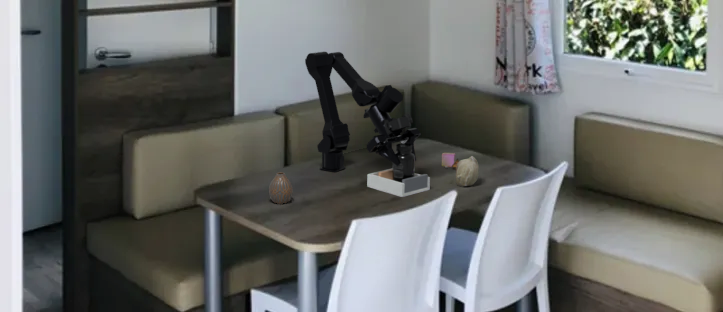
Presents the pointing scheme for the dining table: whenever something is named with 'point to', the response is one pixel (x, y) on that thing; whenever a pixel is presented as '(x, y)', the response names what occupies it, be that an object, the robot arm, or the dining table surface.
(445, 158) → the perfume bottle
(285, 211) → the dining table surface
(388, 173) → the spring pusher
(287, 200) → the vase
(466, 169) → the garlic bulb
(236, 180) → the dining table surface
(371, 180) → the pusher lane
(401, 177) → the supplement bottle
